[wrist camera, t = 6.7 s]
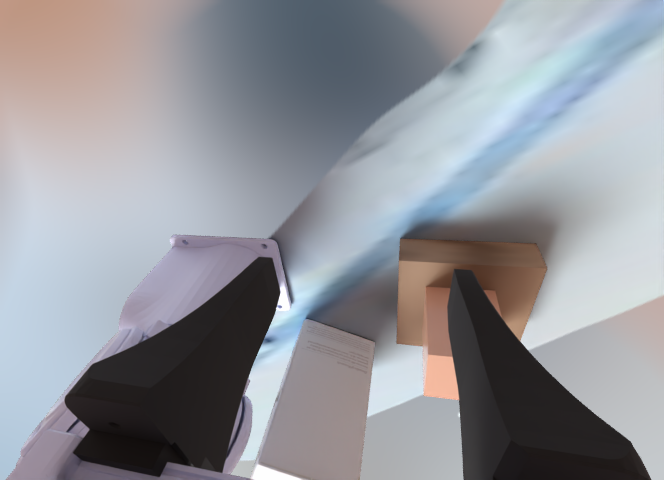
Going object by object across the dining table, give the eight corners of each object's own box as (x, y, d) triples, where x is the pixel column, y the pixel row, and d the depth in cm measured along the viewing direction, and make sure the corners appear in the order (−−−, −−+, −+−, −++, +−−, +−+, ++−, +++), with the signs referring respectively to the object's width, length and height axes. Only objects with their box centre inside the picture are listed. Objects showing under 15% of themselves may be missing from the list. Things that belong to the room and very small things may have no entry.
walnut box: (397, 315, 31) (396, 343, 28) (400, 234, 25) (398, 260, 23) (506, 324, 29) (514, 355, 26) (533, 239, 23) (547, 268, 21)
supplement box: (304, 315, 32) (256, 463, 22) (377, 341, 32) (361, 498, 23) (288, 355, 37) (243, 493, 27) (352, 377, 37) (331, 521, 27)
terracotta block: (422, 328, 26) (423, 395, 22) (425, 286, 24) (427, 354, 20) (484, 333, 26) (498, 405, 21) (494, 290, 23) (513, 363, 19)
